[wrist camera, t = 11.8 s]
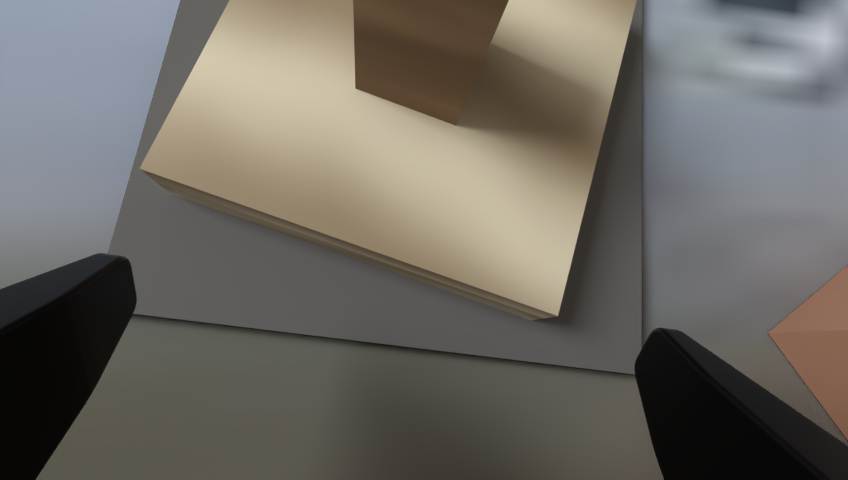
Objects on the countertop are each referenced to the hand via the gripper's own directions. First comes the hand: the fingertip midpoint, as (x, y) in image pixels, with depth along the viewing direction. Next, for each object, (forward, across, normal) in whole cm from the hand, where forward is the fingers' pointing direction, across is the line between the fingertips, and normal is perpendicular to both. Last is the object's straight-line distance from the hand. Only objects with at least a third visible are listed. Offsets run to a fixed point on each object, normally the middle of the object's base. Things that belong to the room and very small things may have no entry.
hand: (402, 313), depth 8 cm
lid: (+9, 0, -2) cm, 9 cm away
